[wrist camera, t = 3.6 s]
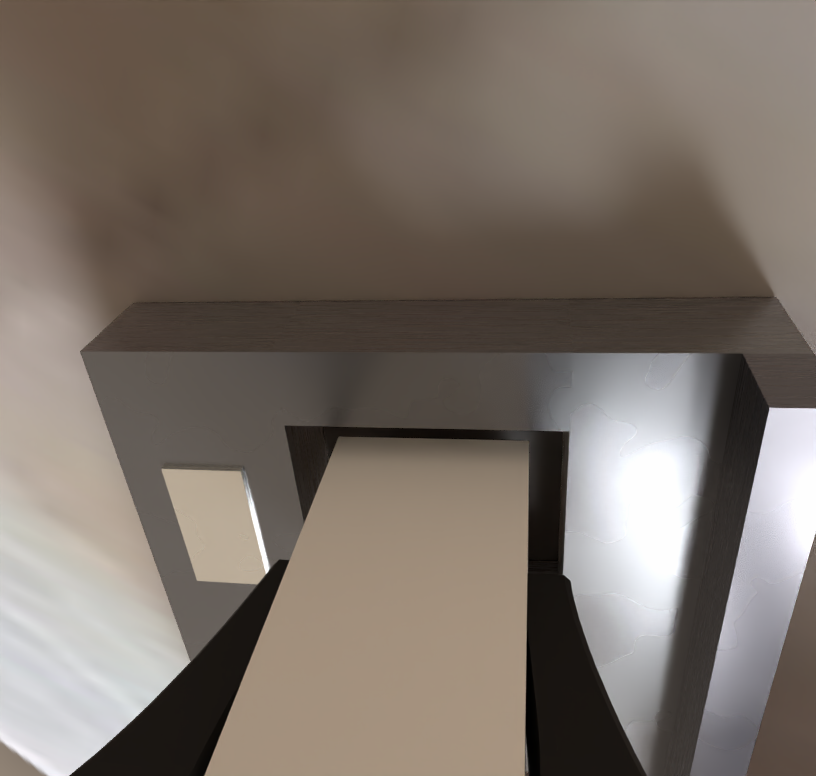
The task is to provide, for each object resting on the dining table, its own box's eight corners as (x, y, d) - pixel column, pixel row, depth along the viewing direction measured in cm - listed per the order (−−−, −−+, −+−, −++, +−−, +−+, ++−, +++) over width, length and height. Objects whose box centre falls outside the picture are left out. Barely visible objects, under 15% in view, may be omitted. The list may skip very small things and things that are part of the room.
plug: (528, 440, 13) (523, 930, 7) (528, 581, 15) (522, 1073, 9) (338, 437, 14) (161, 882, 7) (359, 572, 16) (233, 1025, 9)
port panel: (776, 297, 12) (850, 408, 10) (665, 845, 22) (685, 986, 19) (133, 302, 14) (30, 396, 12) (283, 802, 24) (248, 924, 21)
